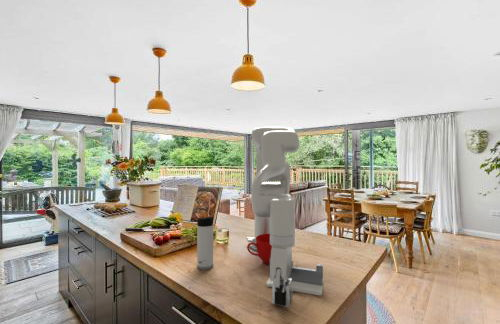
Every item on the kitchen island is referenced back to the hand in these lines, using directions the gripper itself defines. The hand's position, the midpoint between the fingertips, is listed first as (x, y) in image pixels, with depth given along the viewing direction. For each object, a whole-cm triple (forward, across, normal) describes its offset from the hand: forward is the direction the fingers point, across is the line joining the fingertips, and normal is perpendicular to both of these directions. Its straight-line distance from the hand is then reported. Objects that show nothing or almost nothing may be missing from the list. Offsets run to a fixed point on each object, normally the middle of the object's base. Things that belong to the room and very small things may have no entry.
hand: (282, 298), depth 76 cm
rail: (+1, -12, +2) cm, 12 cm away
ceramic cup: (+1, -26, -12) cm, 29 cm away
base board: (+1, -12, +2) cm, 12 cm away
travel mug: (+1, -14, -34) cm, 37 cm away
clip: (+1, 0, 0) cm, 1 cm away
